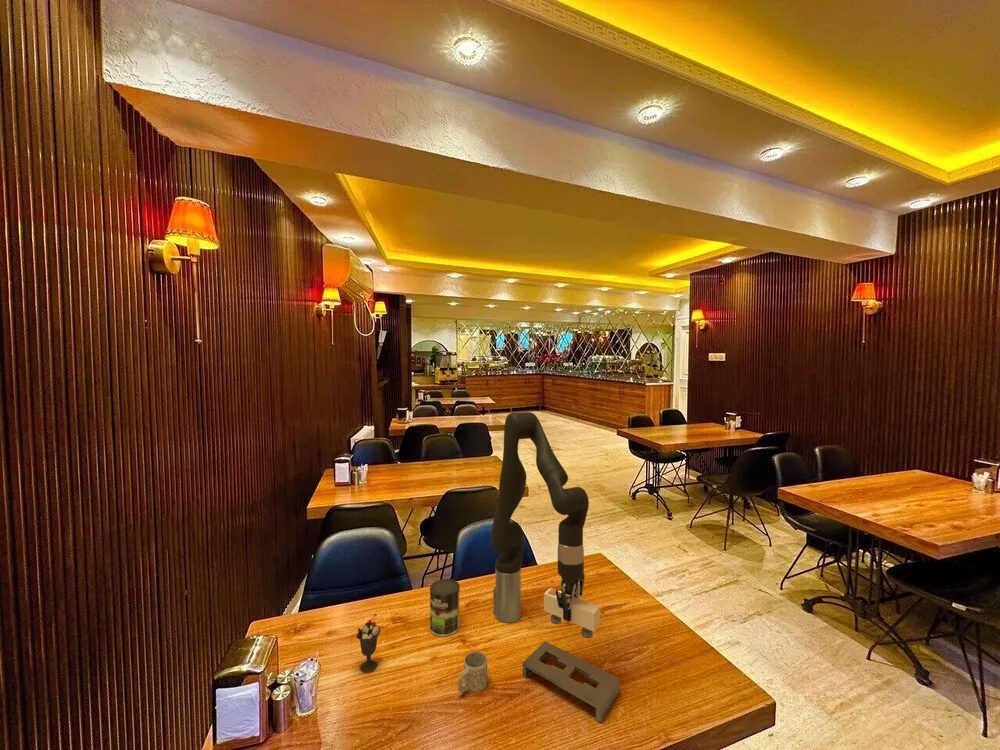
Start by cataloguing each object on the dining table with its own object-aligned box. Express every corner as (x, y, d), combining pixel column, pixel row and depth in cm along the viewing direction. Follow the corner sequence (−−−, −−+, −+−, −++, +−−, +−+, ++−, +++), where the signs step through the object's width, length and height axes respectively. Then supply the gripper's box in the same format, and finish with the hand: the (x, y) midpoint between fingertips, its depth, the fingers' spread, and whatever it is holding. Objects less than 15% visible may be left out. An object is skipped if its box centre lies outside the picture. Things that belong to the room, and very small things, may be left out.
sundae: (385, 661, 119) (385, 612, 119) (370, 677, 112) (370, 625, 112) (367, 656, 121) (367, 607, 121) (352, 671, 114) (352, 620, 115)
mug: (474, 670, 115) (474, 648, 115) (492, 681, 111) (492, 658, 111) (450, 691, 107) (450, 667, 107) (467, 704, 103) (467, 679, 103)
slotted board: (522, 676, 113) (522, 662, 113) (545, 653, 122) (545, 640, 122) (600, 723, 97) (600, 707, 97) (619, 693, 107) (619, 678, 107)
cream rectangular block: (543, 620, 116) (543, 592, 116) (550, 613, 119) (550, 586, 119) (594, 642, 106) (593, 612, 106) (599, 635, 110) (599, 605, 110)
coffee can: (450, 640, 128) (450, 597, 128) (423, 632, 132) (423, 590, 132) (465, 621, 138) (464, 581, 138) (439, 615, 142) (439, 576, 142)
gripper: (570, 545, 121) (570, 600, 121) (546, 562, 110) (546, 623, 110) (593, 552, 116) (593, 609, 116) (570, 571, 105) (570, 634, 105)
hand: (570, 616), depth 113 cm, fingers closed on cream rectangular block, 4 cm apart
